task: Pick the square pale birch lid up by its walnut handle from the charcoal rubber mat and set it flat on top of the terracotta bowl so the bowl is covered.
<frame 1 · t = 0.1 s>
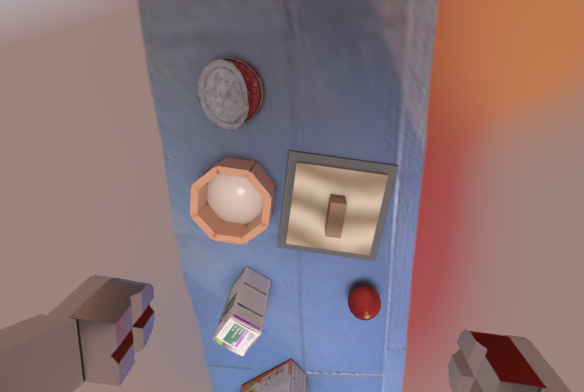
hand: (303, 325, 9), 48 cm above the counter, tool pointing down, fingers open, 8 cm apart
onion: (361, 289, 65), on the counter
cracker box: (274, 378, 74), on the counter
syrup box: (252, 282, 66), on the counter
bowl: (238, 194, 59), on the counter
canned food: (233, 92, 54), on the counter
lid: (334, 208, 58), point 1 cm above the counter, touching mat
mat: (334, 207, 59), on the counter
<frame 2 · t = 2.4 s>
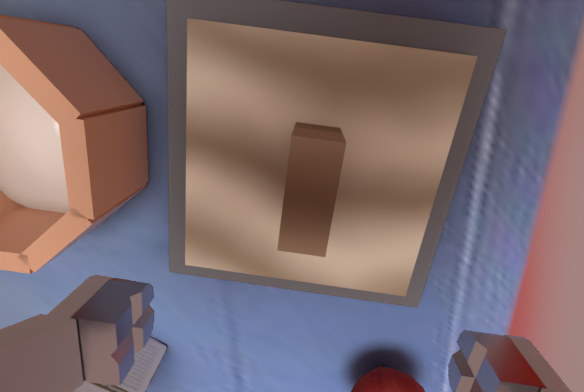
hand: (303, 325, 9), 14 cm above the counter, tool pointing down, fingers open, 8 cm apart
onion: (380, 368, 27), on the counter
syrup box: (127, 349, 28), on the counter
bowl: (49, 131, 22), on the counter
lid: (310, 170, 21), point 1 cm above the counter, touching mat
mat: (310, 167, 21), on the counter
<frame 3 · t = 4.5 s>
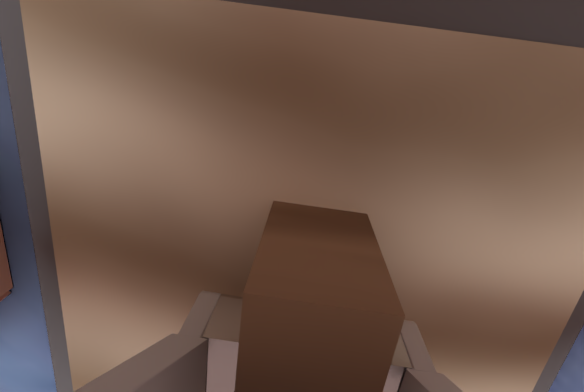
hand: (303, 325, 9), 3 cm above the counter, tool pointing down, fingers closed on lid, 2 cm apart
lid: (305, 280, 11), point 1 cm above the counter, touching gripper, mat
mat: (305, 270, 11), on the counter
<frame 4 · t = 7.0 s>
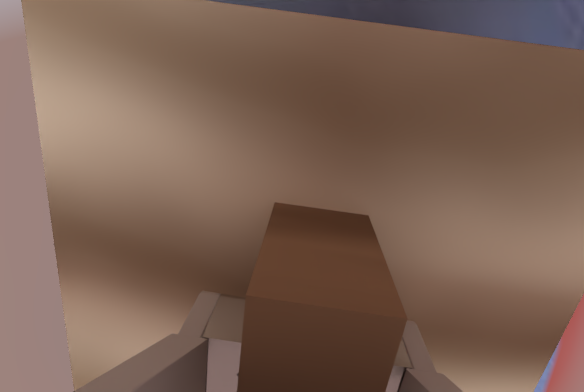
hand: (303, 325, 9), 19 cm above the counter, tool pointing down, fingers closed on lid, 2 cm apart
lid: (306, 282, 11), point 17 cm above the counter, touching gripper
when the fingers open (10 cm above the counter, at t = 9.9 s): lid drops 1 cm, resting on bowl.
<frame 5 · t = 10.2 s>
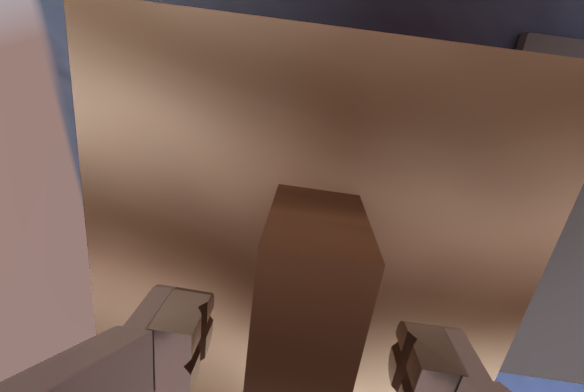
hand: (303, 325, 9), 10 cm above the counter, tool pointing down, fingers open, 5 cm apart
lid: (306, 257, 12), point 6 cm above the counter, touching bowl
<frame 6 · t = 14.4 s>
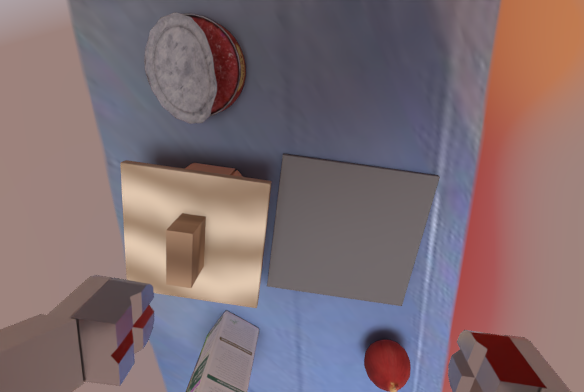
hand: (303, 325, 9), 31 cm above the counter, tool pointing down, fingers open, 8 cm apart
onion: (381, 341, 48), on the counter
syrup box: (234, 330, 49), on the counter
bowl: (212, 214, 42), on the counter
canned food: (201, 69, 37), on the counter
lid: (196, 236, 37), point 6 cm above the counter, touching bowl
mat: (346, 233, 42), on the counter
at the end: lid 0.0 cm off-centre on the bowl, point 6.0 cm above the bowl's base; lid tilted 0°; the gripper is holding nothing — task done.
